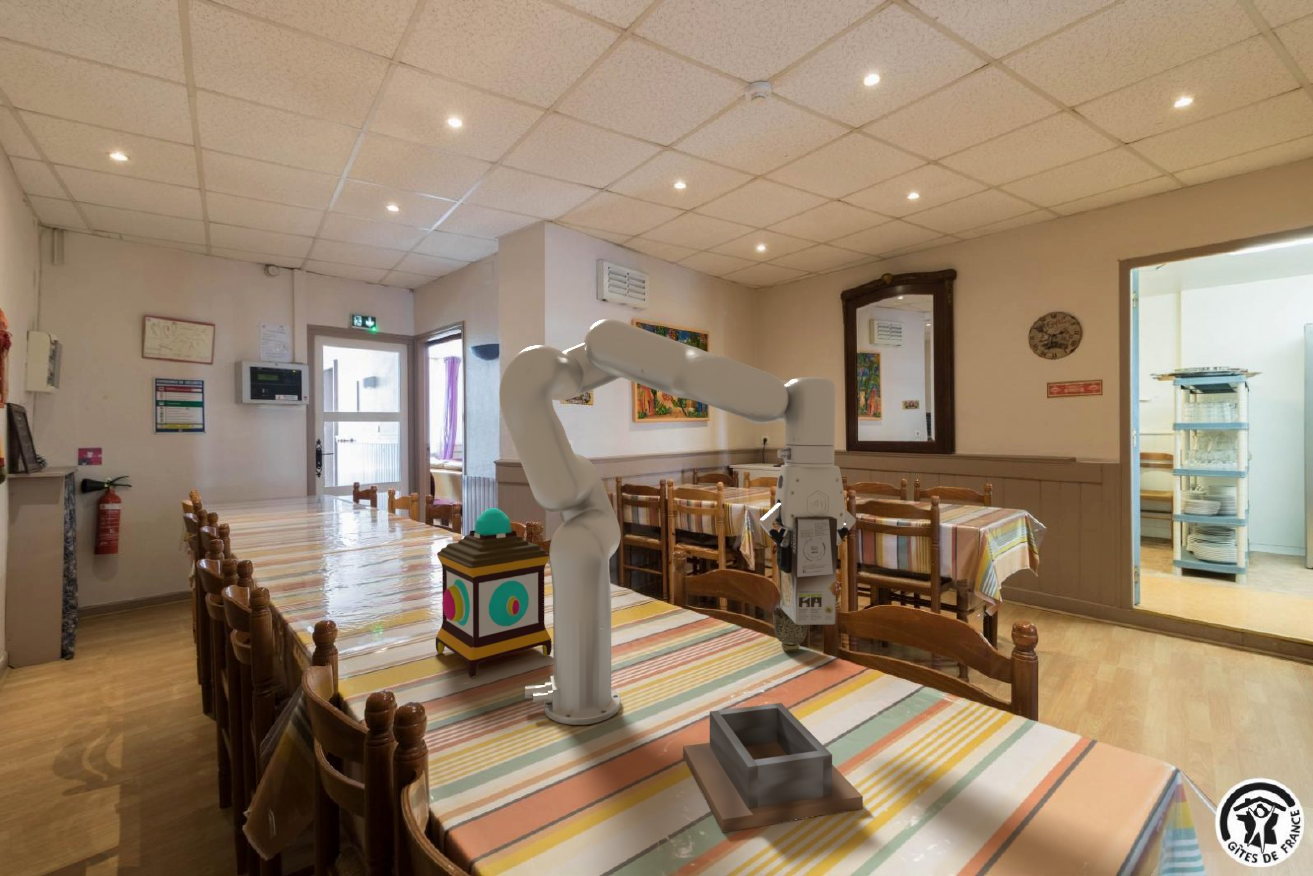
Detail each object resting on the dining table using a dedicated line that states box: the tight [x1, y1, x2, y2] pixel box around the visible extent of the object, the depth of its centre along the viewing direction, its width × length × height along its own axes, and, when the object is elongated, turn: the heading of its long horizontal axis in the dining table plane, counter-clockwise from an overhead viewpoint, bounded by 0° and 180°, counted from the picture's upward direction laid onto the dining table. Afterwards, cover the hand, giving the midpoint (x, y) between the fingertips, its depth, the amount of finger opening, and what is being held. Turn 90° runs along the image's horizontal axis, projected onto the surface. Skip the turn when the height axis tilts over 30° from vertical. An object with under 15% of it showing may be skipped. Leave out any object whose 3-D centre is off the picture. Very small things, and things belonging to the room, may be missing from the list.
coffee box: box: [779, 517, 837, 626], centre depth 93 cm, size 9×6×16 cm
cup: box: [772, 607, 809, 653], centre depth 123 cm, size 8×7×8 cm
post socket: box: [682, 702, 864, 833], centre depth 77 cm, size 18×16×6 cm
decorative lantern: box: [435, 507, 553, 679], centre depth 120 cm, size 20×20×30 cm
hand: (807, 569), depth 93 cm, fingers closed on coffee box, 7 cm apart
